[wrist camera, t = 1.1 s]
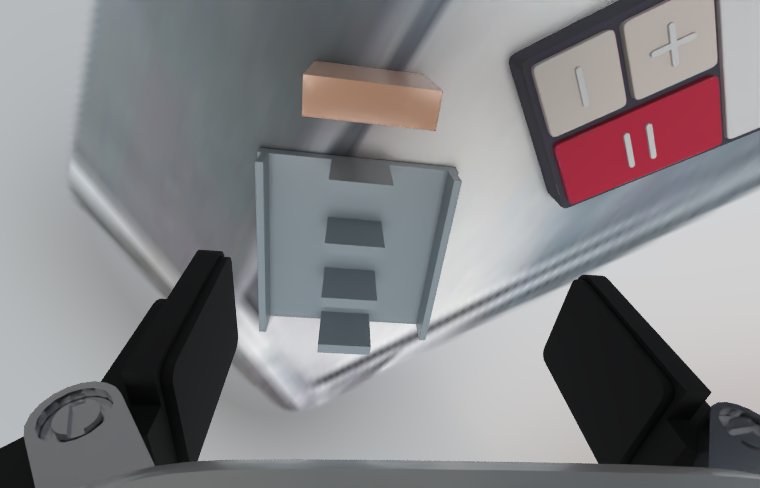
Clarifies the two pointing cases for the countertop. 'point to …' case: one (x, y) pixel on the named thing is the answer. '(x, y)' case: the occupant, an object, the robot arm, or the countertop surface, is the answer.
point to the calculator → (639, 90)
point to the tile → (370, 96)
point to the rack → (350, 242)
